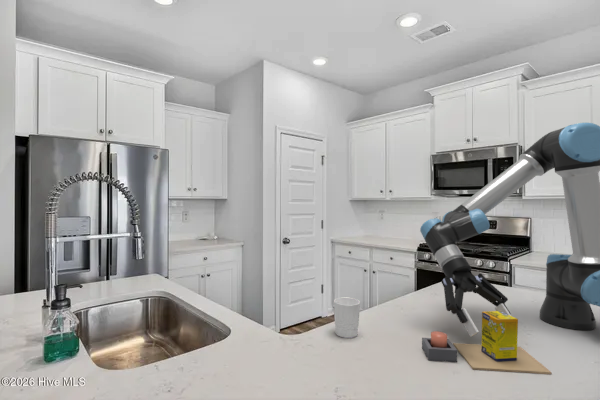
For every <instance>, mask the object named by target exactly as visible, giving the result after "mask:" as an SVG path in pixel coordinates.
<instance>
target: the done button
mask: <svg viewBox="0 0 600 400" xmlns="http://www.w3.org/2000/svg"><path fill="white" fill-rule="evenodd" d="M430 338H431V347H436V348H447V339H448V334H447V333H445V332H444V331H443V332H442V331H438V330H437V331H435V330H434V331H431V332H430Z"/></svg>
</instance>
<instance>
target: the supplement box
mask: <svg viewBox="0 0 600 400" xmlns="http://www.w3.org/2000/svg"><path fill="white" fill-rule="evenodd" d="M481 313H482V314H481V315H482V316H481V344H480V345H481V351H482V352H483V353H485V354H487V355H488V356H489V357H491V358H492V359H493V360H495V361H496V362H502V361H516V360H517V347H518V333H519V332H518V328H519V318H517V317H514V316H513V315H511V316H510V315H508V314H506V313H504V312H503V311H496V310H492V311H491V310H490V311H489V310H488V311H481Z"/></svg>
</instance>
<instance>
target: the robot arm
mask: <svg viewBox="0 0 600 400" xmlns="http://www.w3.org/2000/svg"><path fill="white" fill-rule="evenodd" d="M552 169H554V173H555V174H557V175H558V176H560V177H561V181H562V187H563V194H564V195H563V196H564V202H565V207H566V214H567V222H568V227H569V228H568V229H569V234H570V235H569V236H570V242H571V251H572V254H560V253H556V254H555V253H551V254H549V255H547V257H546V263H545V265H546V275H545V276H546V277H545V278H546V279H545V281H546V283H545V288H546V289H545V297H544V300H543V303H542V305H541V307H540V309H539V319H540V320H542V321H543V322H545V323H547V324H550V325H554V326H557V327H561V328H565V329H570V330H579V331H591V330H595V329H596V328H597V327H596V326H597V323H596V322H597V321H596V318H595V315H594V312H593V309H592V307H591V305H593V306H597V307H599V308H600V176H599V172H600V125H598V124H596V123H594V122H580V123H572V124H570V125H567V126H565V127H562V128H559V129H555V130H553V131H550V132H548V133H546V134H545V135H543V136H542V137H541V138H539V139H538V140H536V141H535V142H534V143H533V144H532V145H531V146H530V147H528V148H527V149H526V150H525V151H524V152H522V153H521V154H520V155H519V159H518V160H517V161H516V162H515V163H513V164H512V165H511V166H509V167H508V168H506V169H505V170H504V171H503V172H501V173H500V174H499V175H498V176H496V177H495V178H494V179H492V180H491V181H489V182H488V183H487V184H486V185H485V186H482V188H481V189H479V190H478V191H477V192H475V193H474V194H473V195H472V196H470V197H469V198H468V199H466V200H465V201H464V202H462V203H461V204H460V205H459V206H457V207H456V208H455V209H453V210H451V211H448V212H446V213H445V214H444V215H443V216H442V220H441V219H440V218H437V217H436V218H430V219H428V220H426V221H425V222H423V223H422V225H421V226H420V231H419V232H420V233H421V235H422V237H423V240H424V242H425V243H426V244H427V246H428V248H429V250H430V252H431V253H432V254H433V257H434V258H435V260H436V261H437V263H438V264H439V267H440V268H441V270H442V272H443V273H444V275H445V277H444V278H443V279H442V280H441V284H442V286H443V289H444V290H443V291H444V301H445V302H444V303H445V310H446V311H448V312H451V314H452V315H456V316H457V318H458V319H459V321H460V323H461V324H463V326H464V327H465V330H466V331H467V333H468V335H469V336H470V337H474V336H475V335H477V334H478V333H480V331H479V330H478V327H477V326H476V324H475V323H474V321H473V319H472V317H471V315H470V314H469V311H467V309H466V308H463V301H464V295H465V293H473V294H476V295H477V294H478V295H479V296H481V298H483V299H484V300H486V301H488V302H489V303H490V304H492V305H494V306H495V307H494V310H495V311H503V312H504V313H506V314H508V315H510V316H512V313H511V312H510V310H509V308H508V307H507V306H506V303H507V302H508V300H509V299H508V297H507V296H505V294H503V293H502V292H501V291H500V290H499V289H498V288H497V287H495V286H494V285H493V284H492V283H491V282H489V280H487V279H486V278H485V276H484V275H483V274H482V273H478V274H477V275H474V274H473V273H472V267H471V265H470V263H469V261H467V259H466V258H465V255H464V254H463V252H462V250H460V248H459V247H458V245H457V243H460V242H462V241H465V240H467V239H470V238H473V237H475V236H478V235H481V234H482V233H485V232H486V231H489V229H490V227H491V226H490V220H489V219H488V216H487V215H486V214H488V213H489V212H490V211H491V210H493V209H494V208H495V207H497V206H498V205H500V204H501V203H502V202H504V201H505V200H506V199H507V198H509V197H510V196H512V195H513V194H514V193H515V192H517V191H518V190H519V189H520V188H523V186H525V185H526V184H527V183H529V182H530V181H531V180H533V179H534V178H536V177H537V176H539V177H541V176H544V175H545V174H546V173H547V172H550V171H551V170H552Z"/></svg>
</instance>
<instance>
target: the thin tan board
mask: <svg viewBox="0 0 600 400" xmlns="http://www.w3.org/2000/svg"><path fill="white" fill-rule="evenodd" d="M452 344H453V346H454V347H455V348H456V349H457V353H458V354H460V355H461V357H462V358H463V359H464V361H465V362H466V363H467V364H468V365H469V367H470V368H471V369H472V370H475V371H487V372H489V371H491V372H492V371H493V372H507V373H523V374H538V375H539V374H540V375H552V371H551V370H549V368H547V367H546V366H544V365H543V364H542V363H541V362H539V360H537V359H536V358H535V357H533V355H531V354H530V353H529V352H528V351H526V350H525V349H523V348H522V347H521V346H517V360H516V361H502V362H496V361H495V360H493V359H492V358H491V357H489V356H488V355H487V354H485V353H483V352H482V351H481V344H479V343H478V344H475V343H462V342H461V343H460V342H459V343H458V342H453V343H452Z"/></svg>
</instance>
